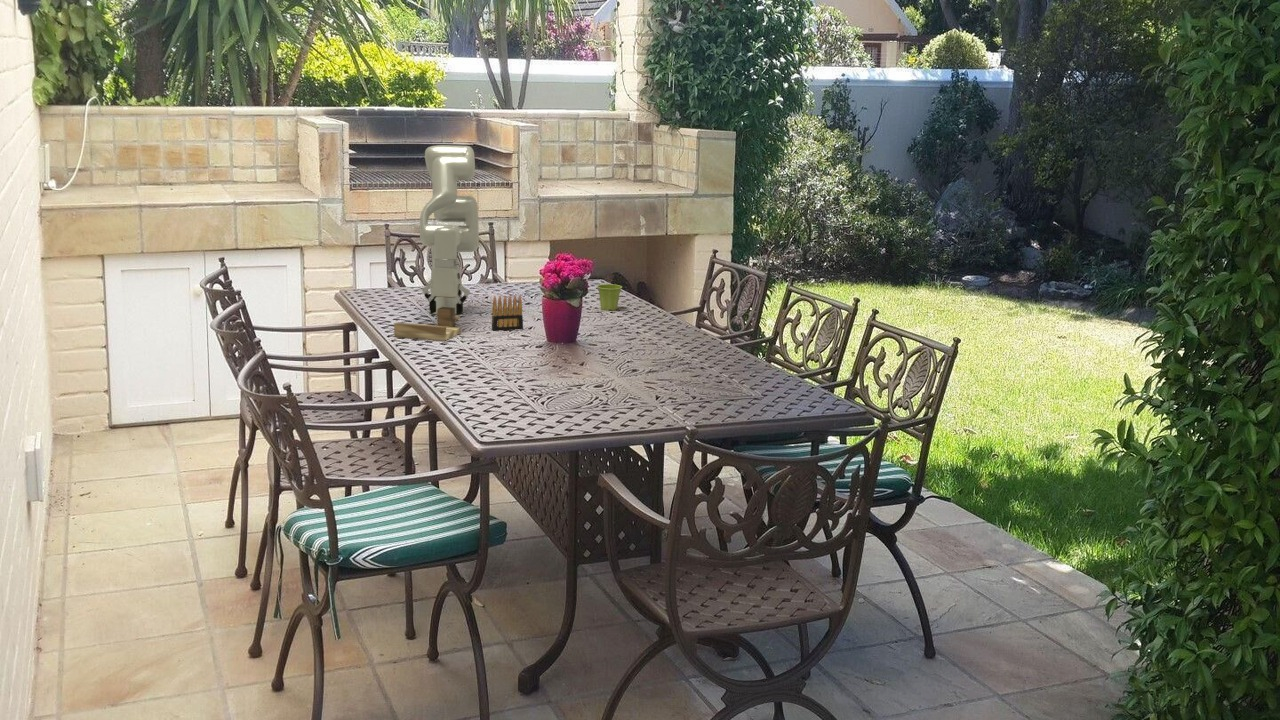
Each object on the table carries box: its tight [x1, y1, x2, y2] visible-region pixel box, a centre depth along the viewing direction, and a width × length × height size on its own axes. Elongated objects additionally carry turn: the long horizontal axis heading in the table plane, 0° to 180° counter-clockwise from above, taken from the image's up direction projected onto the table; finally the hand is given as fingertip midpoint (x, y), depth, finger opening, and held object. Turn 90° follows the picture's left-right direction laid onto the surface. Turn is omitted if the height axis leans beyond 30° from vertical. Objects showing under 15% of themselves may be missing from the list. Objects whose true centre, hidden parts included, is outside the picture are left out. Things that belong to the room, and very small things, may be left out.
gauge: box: [436, 307, 460, 327], centre depth 440 cm, size 12×4×7 cm, turn 164°
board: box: [393, 322, 462, 342], centre depth 425 cm, size 13×18×4 cm
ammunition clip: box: [491, 294, 524, 332], centre depth 436 cm, size 11×2×12 cm, turn 110°
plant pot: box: [596, 283, 623, 311], centre depth 476 cm, size 9×9×9 cm
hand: (446, 313), depth 435 cm, fingers open, 9 cm apart
